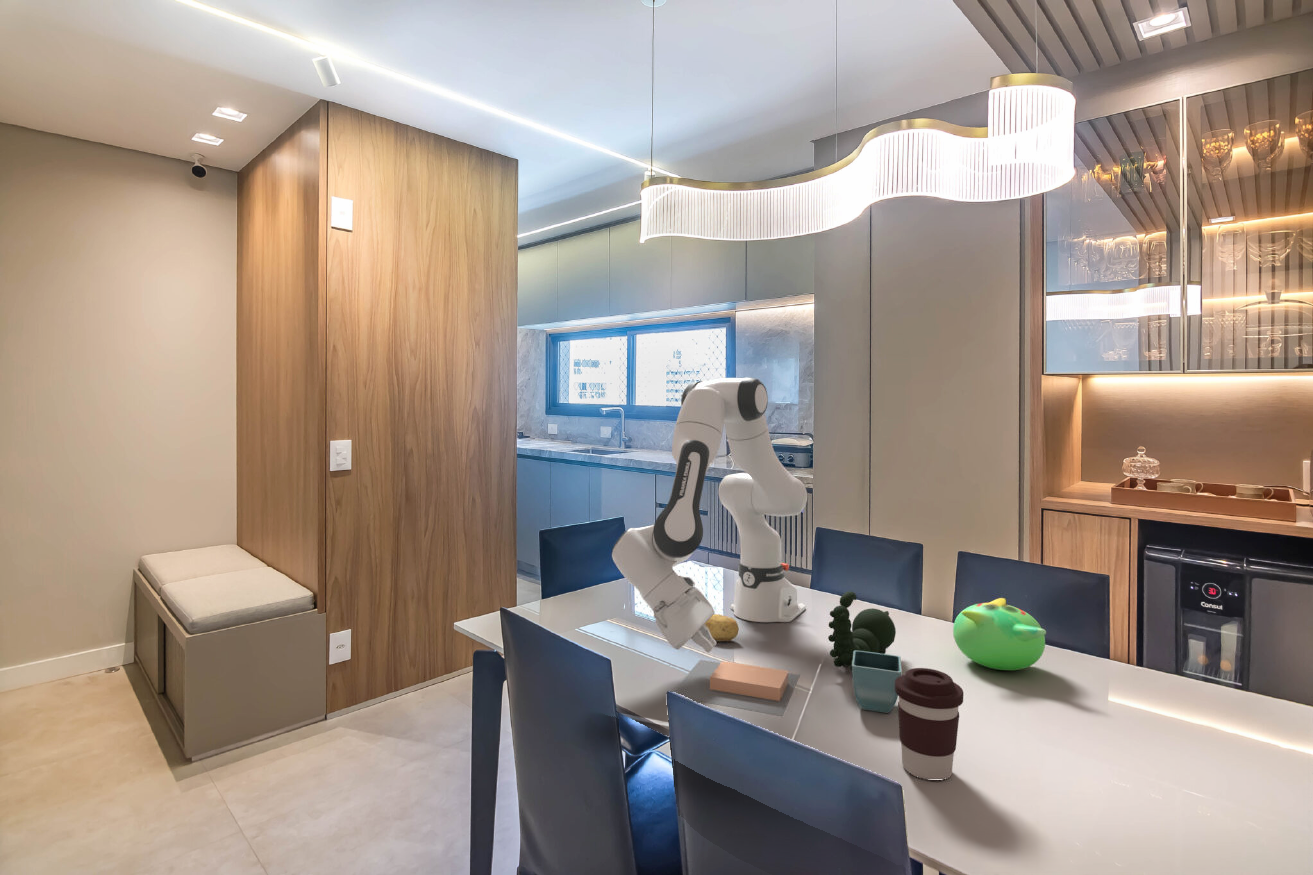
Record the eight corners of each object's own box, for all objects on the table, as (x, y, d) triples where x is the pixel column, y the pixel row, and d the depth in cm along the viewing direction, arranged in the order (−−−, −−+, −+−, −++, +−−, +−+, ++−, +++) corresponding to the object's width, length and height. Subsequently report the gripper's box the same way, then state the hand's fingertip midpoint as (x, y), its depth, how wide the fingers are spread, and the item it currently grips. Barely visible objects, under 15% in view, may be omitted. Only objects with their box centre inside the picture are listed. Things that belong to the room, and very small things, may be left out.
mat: (669, 698, 127) (669, 695, 127) (700, 662, 146) (700, 659, 146) (781, 718, 119) (781, 715, 119) (799, 677, 138) (799, 674, 138)
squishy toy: (1039, 661, 148) (1041, 597, 147) (1049, 689, 133) (1051, 618, 132) (952, 648, 156) (954, 587, 155) (952, 673, 140) (953, 606, 140)
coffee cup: (882, 754, 107) (884, 664, 106) (940, 751, 108) (942, 662, 107) (911, 788, 97) (913, 690, 97) (974, 786, 98) (977, 688, 97)
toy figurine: (859, 692, 135) (908, 650, 153) (857, 604, 133) (906, 571, 151) (818, 679, 141) (869, 640, 159) (815, 594, 139) (868, 565, 157)
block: (709, 676, 130) (780, 688, 125) (722, 660, 138) (788, 670, 133) (709, 689, 130) (779, 701, 125) (722, 673, 138) (788, 683, 133)
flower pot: (899, 700, 127) (900, 655, 127) (900, 720, 119) (902, 672, 119) (852, 693, 130) (853, 649, 130) (850, 713, 122) (851, 665, 121)
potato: (726, 649, 154) (726, 623, 154) (691, 637, 162) (691, 612, 162) (743, 642, 159) (744, 616, 159) (708, 631, 167) (709, 607, 166)
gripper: (660, 600, 127) (708, 656, 123) (693, 575, 146) (735, 624, 143) (639, 619, 128) (686, 676, 125) (674, 593, 147) (715, 641, 144)
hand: (712, 648), depth 134 cm, fingers closed
